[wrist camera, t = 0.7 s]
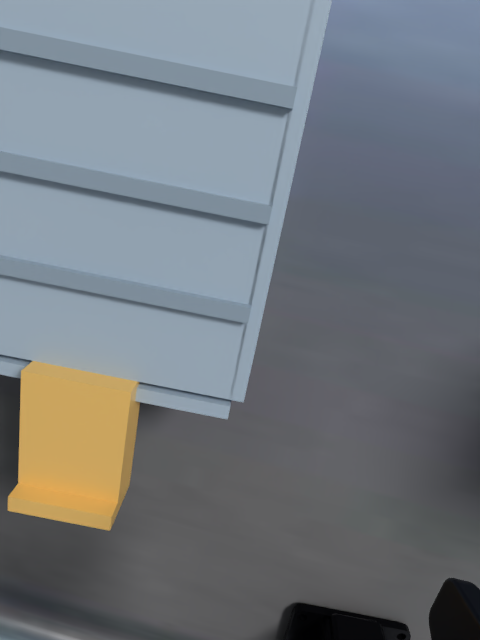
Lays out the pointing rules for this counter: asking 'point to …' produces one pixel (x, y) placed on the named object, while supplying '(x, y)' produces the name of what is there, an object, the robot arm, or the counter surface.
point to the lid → (138, 219)
